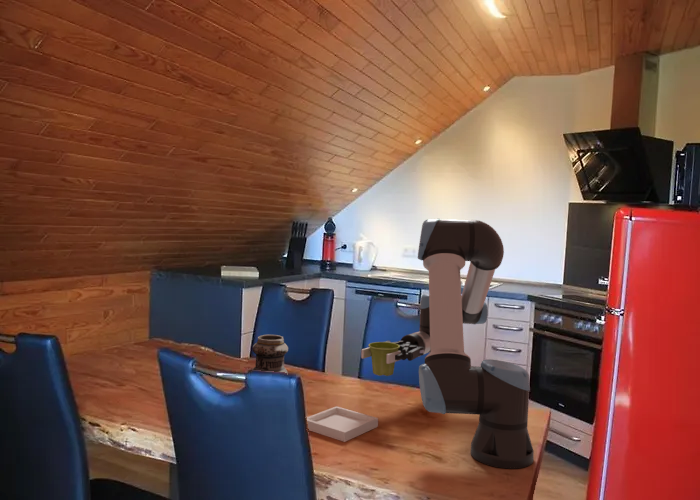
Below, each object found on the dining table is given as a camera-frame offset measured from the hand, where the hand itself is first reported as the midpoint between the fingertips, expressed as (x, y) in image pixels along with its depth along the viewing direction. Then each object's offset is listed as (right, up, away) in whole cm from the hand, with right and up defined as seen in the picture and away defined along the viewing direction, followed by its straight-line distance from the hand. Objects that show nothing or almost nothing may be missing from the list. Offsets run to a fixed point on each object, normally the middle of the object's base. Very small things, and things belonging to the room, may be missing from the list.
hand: (374, 356), depth 170 cm
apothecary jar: (-34, -16, +24) cm, 45 cm away
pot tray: (-10, -18, -9) cm, 23 cm away
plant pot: (+3, -6, +4) cm, 8 cm away
